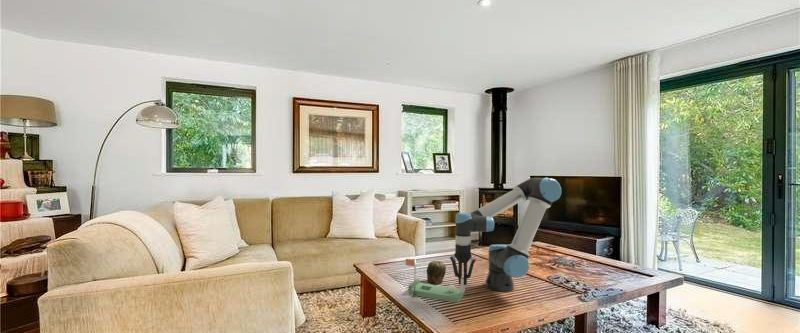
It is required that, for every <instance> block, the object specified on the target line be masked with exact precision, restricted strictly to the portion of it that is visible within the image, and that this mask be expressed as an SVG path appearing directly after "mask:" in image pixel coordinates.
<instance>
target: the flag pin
mask: <svg viewBox="0 0 800 333" xmlns="http://www.w3.org/2000/svg"><path fill="white" fill-rule="evenodd" d="M416 261H417V260H416V259H410V258H405V266H407V267H408V266H410V267H413V270H414V271H413V273H414V274H413V276H414V277H413V282H414V294H413V295H411V296H412V298H417V297H418V296H417V295H416V294H415V284H416V279H417V278H416V277H417V275H416V273H417V272H416V268H417V267H416V266H417V264H416V263H417V262H416Z"/></svg>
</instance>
